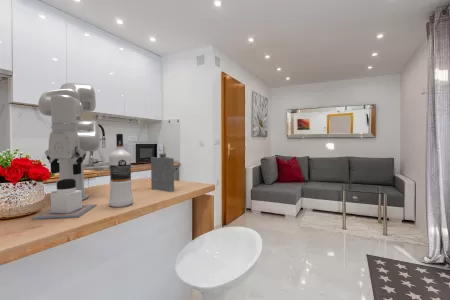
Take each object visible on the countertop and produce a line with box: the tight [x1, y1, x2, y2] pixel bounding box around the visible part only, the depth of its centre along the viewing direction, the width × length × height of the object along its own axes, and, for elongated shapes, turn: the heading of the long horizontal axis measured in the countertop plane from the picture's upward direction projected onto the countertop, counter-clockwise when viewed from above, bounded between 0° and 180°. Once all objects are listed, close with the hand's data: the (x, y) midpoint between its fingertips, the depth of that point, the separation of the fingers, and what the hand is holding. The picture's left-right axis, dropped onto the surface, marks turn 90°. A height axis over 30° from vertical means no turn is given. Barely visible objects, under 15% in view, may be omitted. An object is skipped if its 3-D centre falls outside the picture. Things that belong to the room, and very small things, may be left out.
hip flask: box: [150, 152, 175, 193], centre depth 126 cm, size 16×4×20 cm, turn 59°
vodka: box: [108, 133, 134, 208], centre depth 97 cm, size 9×9×30 cm
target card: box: [31, 204, 98, 220], centre depth 87 cm, size 15×15×1 cm
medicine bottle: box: [50, 179, 83, 214], centre depth 87 cm, size 7×7×12 cm
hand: (66, 173), depth 87 cm, fingers open, 9 cm apart
